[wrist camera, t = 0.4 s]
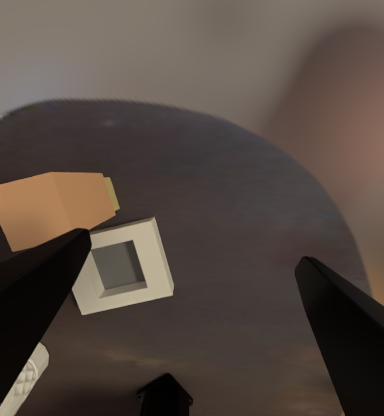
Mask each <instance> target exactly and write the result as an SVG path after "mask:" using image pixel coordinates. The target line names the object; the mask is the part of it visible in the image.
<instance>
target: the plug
mask: <svg viewBox="0 0 384 416" xmlns="http://www.w3.org/2000/svg"><path fill="white" fill-rule="evenodd" d="M118 209H120V208H119V205H118V202H117V199H116V195H115V192H114V189H113V186H112V183H111V180H110V177H107V178H104V177H103V174H102V173H63V172H49V173H45V174H41V175H37V176H33V177H29V178H25V179H21V180H17V181H13V182H9V183H5V184H1V185H0V225H1V227H2V229H3V232H4V234H5V236H6V238H7V241H8V243H9V245H10V247H11V250H12V252H15V251H19V250H23V249H28V248H32V247H36V246H38V245H40V244H42V243H45V242H47V241H49V240H51V239H53V238H55V237H58V236H60V235H62V234H64V233H66V232H69V231H71V230H73V229H75V228H85V229H88V230H89V229H91V228H93V227H95V226H97V225H98V224H100V223H102V222H104V221H106V220H108V219H109V218H111V217H113V216H115V215H116V214H115V211H116V210H118Z"/></svg>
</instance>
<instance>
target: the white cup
mask: <svg viewBox="0 0 384 416" xmlns="http://www.w3.org/2000/svg"><path fill="white" fill-rule="evenodd" d="M48 362H49V354H48V352H47V349H46V347H45V346H44V345H43V344H41V343H40V342H39V344H38V345H37V347H36V348H35V350H34V352H33V353H32V355H31V357H30V358H29V360H28V362H27V363H26V365H25V367H24V368H23V370H22V372H21V373H20V375H19V376H18V378H17V380H16V381H15V383H14V385H13V386H12V388H11V390H10V391H9V393H8V395H7V396H6V398H5V399H4V401H3V403H2V404H1V406H0V416H14V415H15V414H16V412H17V411H18V409H19V407H20V406H21V405H22V403H23V402H24V400H25V399H26V397H27V396H28V394H29V393H30V391H31V390H32V388H33V386H34V384H35V383H36V381H37V380H38V378H39V377H40V375H41V374H42V372H43V371H44V370H45V368H46V367H47V365H48Z"/></svg>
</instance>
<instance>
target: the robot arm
mask: <svg viewBox="0 0 384 416" xmlns="http://www.w3.org/2000/svg"><path fill="white" fill-rule="evenodd" d="M91 248H92V242H91V237H90V232H89V230H88V229H85V228H75V229H73V230H71V231H69V232H66V233H64V234H62V235H60V236H58V237H55V238H53V239H51V240H49V241H47V242H45V243H42V244H40V245H38V246H36V247H34V248H31V249H29V250H27V251H25V252H23V253H20V254H18V255H16V256H14V257H12V258H9V259H7V260H5V261H3V262H1V263H0V406H1V404H2V403H3V401H4V399H5V398H6V396H7V395H8V393H9V391H10V390H11V388H12V386H13V385H14V383H15V381H16V380H17V378H18V376H19V375H20V373H21V372H22V370H23V368H24V367H25V365H26V363H27V362H28V360H29V358H30V357H31V355H32V353H33V352H34V350H35V348H36V347H37V345H38V344H39V342H40V340H41V339H42V337H43V335H44V334H45V332H46V330H47V329H48V327H49V325H50V324H51V322H52V320H53V319H54V317H55V316H56V314H57V312H58V311H59V309H60V307H61V306H62V304H63V302H64V301H65V299H66V297H67V296H68V294H69V293H70V291H71V289H72V287H73V286H74V284H75V282H76V280H77V278H78V276H79V274H80V272H81V270H82V268H83V265H84V263H85V261H86V259H87V257H88V255H89V253H90V251H91ZM295 277H296V281H297V284H298V288H299V292H300V295H301V299H302V302H303V306H304V309H305V312H306V315H307V318H308V320H309V323H310V325H311V328H312V331H313V333H314V336H315V338H316V341H317V344H318V346H319V349H320V351H321V354H322V357H323V359H324V362H325V364H326V367H327V370H328V372H329V375H330V377H331V380H332V383H333V385H334V388H335V390H336V393H337V396H338V398H339V401H340V403H341V406H342V409H343V411H344V414H345V416H384V306H383V305H381V304H380V303H378V302H377V301H376V300H374V299H373V298H371V297H370V296H369V295H367V294H366V293H364V292H363V291H361V290H360V289H359V288H357V287H356V286H354V285H353V284H352V283H350V282H349V281H347V280H346V279H344V278H343V277H342V276H340V275H339V274H337V273H336V272H335V271H333V270H332V269H330V268H329V267H327V266H326V265H325V264H323V263H322V262H320V261H319V260H318V259H316V258H314V257H308V256H304V257H302V259H301V260H300V262H299V264H298V265H297V267H296V268H295ZM136 398H137V399H138V400H139V401H140V402H141V404H142V408H141V413H140V416H189V407H190V406H192V405H193V399H192V397H191V396H190V395H189V394H188V393H187V392H186V391H185V390H184V389H183V387H182V386H181V385H180V384H179V383H178V382H177V381H176V380H175V379H174V377H173V376H172V375H171V374H167V375H165V376H164V377H162V378H160V379H159V380H157V381H155V382H154V383H152V384H150V385H149V386H147V387H146V388H144V389H142V390H141V391H139V392H138V393H137V395H136Z"/></svg>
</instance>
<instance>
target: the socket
mask: <svg viewBox="0 0 384 416" xmlns="http://www.w3.org/2000/svg"><path fill="white" fill-rule="evenodd" d="M90 237H91V242H92V248H91V251H90V253H89V255H88V257H87V259H86V261H85V263H84V265H83V268H82V270H81V272H80V274H79V276H78V278H77V280H76V282H75V284H74V286H73V287H72V291H73V293H74V296H75V298H76V301H77V303H78V306H79V308H80V311H81V313H82V315H85V314H90V313H94V312H99V311H103V310H108V309H112V308H117V307H122V306H126V305H131V304H135V303H140V302H144V301H149V300H153V299H158V298H162V297H167V296H171V295H173V289H174V284H173V281H172V277H171V274H170V270H169V267H168V263H167V260H166V256H165V252H164V249H163V245H162V242H161V238H160V235H159V231H158V228H157V224H156V221H155V217H152V218H147V219H143V220H139V221H135V222H130V223H126V224H122V225H118V226H113V227H109V228H105V229H101V230H97V231H92V232H90Z"/></svg>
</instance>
